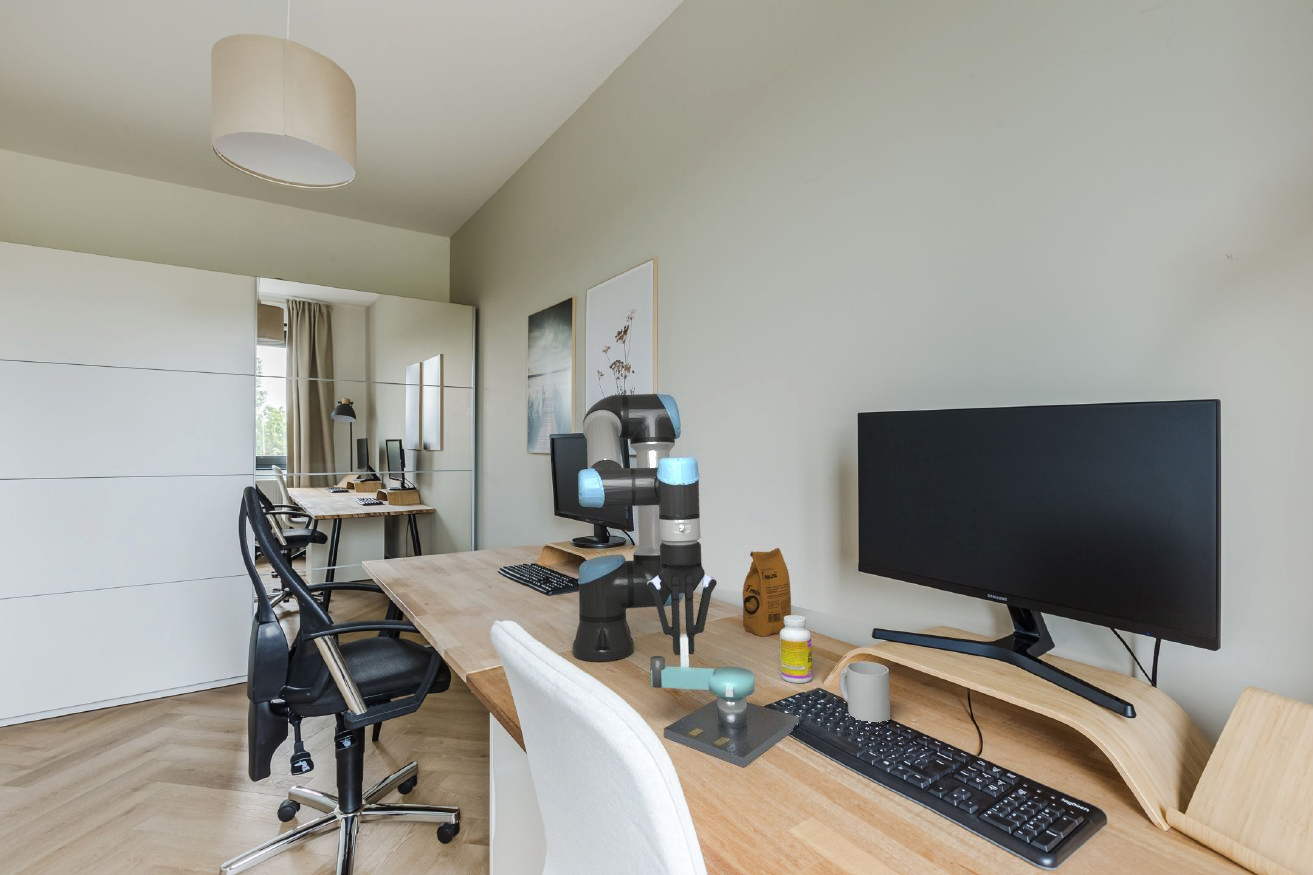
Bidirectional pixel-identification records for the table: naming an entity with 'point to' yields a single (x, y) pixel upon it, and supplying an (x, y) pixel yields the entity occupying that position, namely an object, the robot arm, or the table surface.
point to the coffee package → (766, 594)
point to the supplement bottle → (795, 650)
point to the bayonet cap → (703, 679)
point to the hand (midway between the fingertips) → (684, 672)
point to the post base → (732, 729)
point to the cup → (866, 690)
